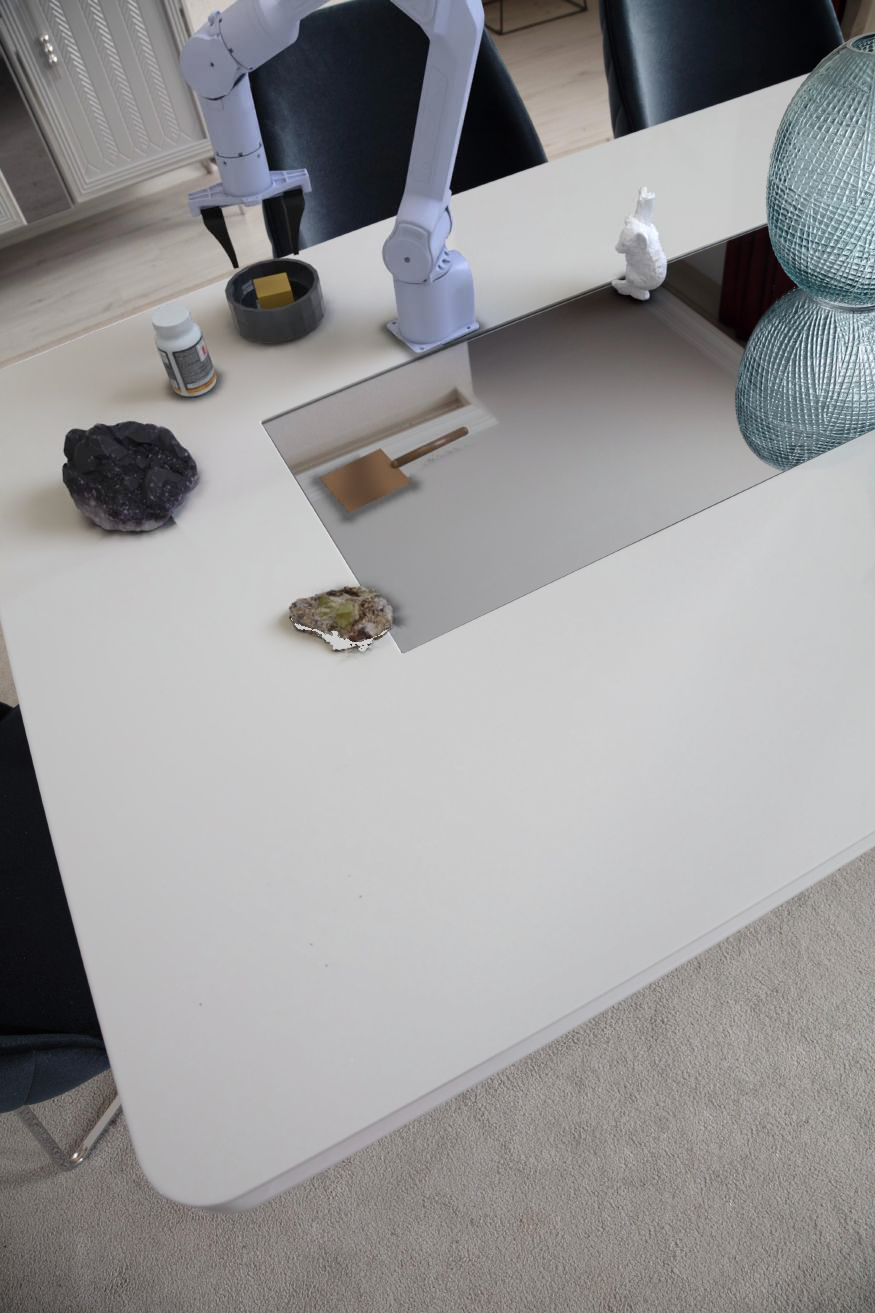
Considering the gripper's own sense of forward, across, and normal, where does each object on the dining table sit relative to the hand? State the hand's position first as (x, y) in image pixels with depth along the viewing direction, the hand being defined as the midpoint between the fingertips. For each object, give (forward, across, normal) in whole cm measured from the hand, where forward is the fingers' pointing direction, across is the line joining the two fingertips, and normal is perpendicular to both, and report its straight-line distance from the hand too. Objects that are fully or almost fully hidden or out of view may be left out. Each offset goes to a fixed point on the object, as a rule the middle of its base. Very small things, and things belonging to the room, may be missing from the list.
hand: (265, 257), depth 117 cm
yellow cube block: (+8, 0, 0) cm, 8 cm away
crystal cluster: (+9, -21, -28) cm, 36 cm away
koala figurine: (+9, +46, -12) cm, 48 cm away
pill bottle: (+9, -13, -10) cm, 18 cm away
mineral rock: (+9, -2, -54) cm, 55 cm away
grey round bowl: (+9, 0, 0) cm, 9 cm away
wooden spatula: (+9, +9, -34) cm, 36 cm away
